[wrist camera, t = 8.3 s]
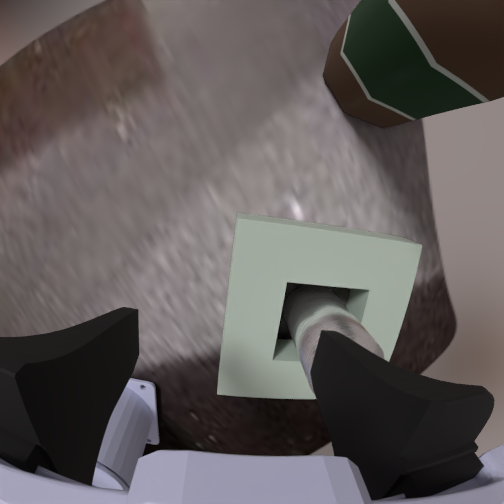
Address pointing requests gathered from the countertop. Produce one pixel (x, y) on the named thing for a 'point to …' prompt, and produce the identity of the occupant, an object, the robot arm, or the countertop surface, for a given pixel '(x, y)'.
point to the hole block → (305, 272)
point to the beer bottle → (417, 58)
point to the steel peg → (321, 322)
